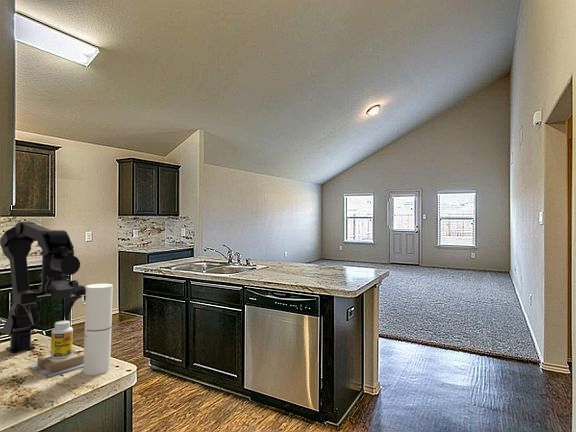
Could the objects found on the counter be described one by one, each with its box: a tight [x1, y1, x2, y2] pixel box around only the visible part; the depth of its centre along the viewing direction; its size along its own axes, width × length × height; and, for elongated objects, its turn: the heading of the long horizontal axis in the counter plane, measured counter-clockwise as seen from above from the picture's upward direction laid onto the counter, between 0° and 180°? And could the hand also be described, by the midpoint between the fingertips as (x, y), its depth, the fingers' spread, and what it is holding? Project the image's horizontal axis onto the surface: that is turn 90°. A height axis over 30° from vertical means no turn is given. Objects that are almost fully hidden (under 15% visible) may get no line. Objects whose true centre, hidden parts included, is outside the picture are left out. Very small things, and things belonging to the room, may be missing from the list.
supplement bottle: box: [50, 320, 74, 359], centre depth 115 cm, size 6×6×10 cm
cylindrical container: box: [82, 283, 114, 376], centre depth 113 cm, size 7×7×25 cm
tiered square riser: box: [29, 350, 84, 379], centre depth 115 cm, size 12×12×3 cm
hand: (50, 321), depth 118 cm, fingers open, 9 cm apart
